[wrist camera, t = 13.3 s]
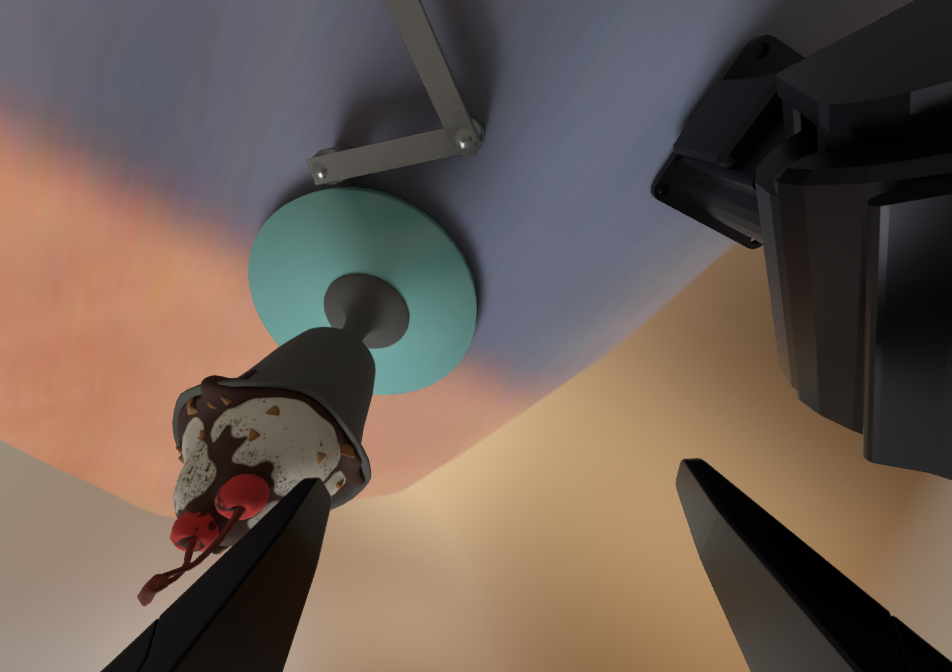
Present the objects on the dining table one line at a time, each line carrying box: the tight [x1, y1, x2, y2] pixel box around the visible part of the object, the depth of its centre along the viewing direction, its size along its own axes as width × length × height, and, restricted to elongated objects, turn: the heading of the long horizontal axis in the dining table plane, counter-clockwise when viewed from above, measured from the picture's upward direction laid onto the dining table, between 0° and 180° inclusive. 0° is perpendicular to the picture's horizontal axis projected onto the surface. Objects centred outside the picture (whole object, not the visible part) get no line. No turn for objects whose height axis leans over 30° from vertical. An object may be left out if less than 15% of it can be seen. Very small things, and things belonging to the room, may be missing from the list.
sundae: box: [137, 273, 409, 606], centre depth 14 cm, size 7×7×15 cm
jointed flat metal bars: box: [306, 0, 484, 185], centre depth 14 cm, size 7×10×3 cm
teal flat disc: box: [249, 186, 477, 395], centre depth 21 cm, size 13×13×1 cm
